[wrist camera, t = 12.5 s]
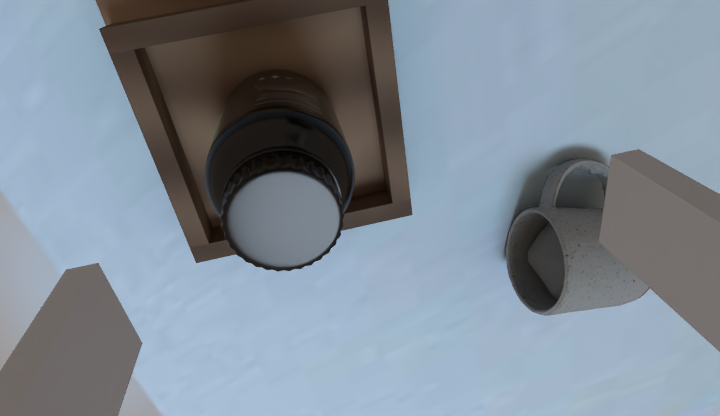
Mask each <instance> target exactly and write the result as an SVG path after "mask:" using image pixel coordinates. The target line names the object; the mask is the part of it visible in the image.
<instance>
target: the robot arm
mask: <svg viewBox="0 0 720 416" xmlns="http://www.w3.org/2000/svg"><path fill="white" fill-rule="evenodd" d="M599 242H600V243H601V244H602V245H603V246H604V247H605V248H606V249H607V250H609V251H610V252H611V253H612V254H613V255H614V256H615V257H616V258H617V259H618V260H620V261H621V262H622V263H623V264H624V265H625V266H626V267H627V268H628V269H629V270H630V271H632V272H633V273H634V274H635V275H636V276H637V277H638V278H639V279H640V280H641V281H643V282H644V283H645V284H646V285H647V286H648V287H649V288H650V289H651V290H652V291H654V292H655V293H656V294H657V295H658V296H659V297H660V298H661V299H662V300H663V301H664V302H666V303H667V304H668V305H669V306H670V307H671V308H672V309H673V310H674V311H675V312H677V313H678V314H679V315H680V316H681V317H682V318H683V319H684V320H685V321H686V322H687V323H689V324H690V325H691V326H692V327H693V328H694V329H695V330H696V331H697V332H698V333H700V334H701V335H702V336H703V337H704V338H705V339H706V340H707V341H708V342H709V343H711V344H712V345H713V346H714V347H715V348H716V349H717V350H718V351H719V352H720V194H718V193H717V192H715V191H713V190H711V189H709V188H708V187H706V186H704V185H702V184H700V183H699V182H697V181H695V180H693V179H691V178H690V177H688V176H686V175H684V174H682V173H681V172H679V171H677V170H675V169H673V168H672V167H670V166H668V165H666V164H664V163H663V162H661V161H659V160H657V159H656V158H654V157H652V156H650V155H648V154H647V153H645V152H643V151H641V150H639V149H638V150H633V151H628V152H624V153H619V154H614V155H611V160H610V167H609V174H608V181H607V188H606V195H605V202H604V209H603V216H602V223H601V230H600V237H599ZM141 346H142V342H141V340H140V338H139V336H138V334H137V332H136V331H135V329H134V327H133V325H132V323H131V322H130V320H129V318H128V316H127V314H126V313H125V311H124V309H123V307H122V305H121V303H120V302H119V300H118V298H117V296H116V294H115V293H114V291H113V289H112V287H111V285H110V283H109V282H108V280H107V278H106V276H105V274H104V273H103V271H102V269H101V267H100V265H99V263H96V264H91V265H86V266H82V267H77V268H72V269H67V270H66V271H65V272H64V274H63V275H62V277H61V278H60V280H59V281H58V283H57V285H56V286H55V287H54V289H53V291H52V292H51V294H50V295H49V297H48V298H47V300H46V301H45V303H44V305H43V306H42V307H41V309H40V311H39V312H38V314H37V315H36V317H35V318H34V320H33V321H32V323H31V324H30V326H29V328H28V329H27V331H26V332H25V334H24V335H23V337H22V338H21V340H20V341H19V343H18V344H17V346H16V348H15V349H14V351H13V352H12V354H11V356H10V357H9V358H8V360H7V361H6V363H5V365H4V366H3V368H2V369H1V371H0V416H118V414H119V411H120V408H121V405H122V402H123V399H124V396H125V393H126V390H127V387H128V384H129V381H130V378H131V375H132V372H133V369H134V366H135V363H136V360H137V357H138V354H139V351H140V348H141Z"/></svg>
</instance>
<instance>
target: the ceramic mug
mask: <svg viewBox="0 0 720 416" xmlns="http://www.w3.org/2000/svg"><path fill="white" fill-rule="evenodd" d="M573 169H580V170H584V171H587V172H589V173H590V174H597V175H598V177H599V178H600V180H601V182H602V186H603V190H604V202H605V195H606V188H607V181H608V174H609V167H608V166H607V165H605V164H603V163H601V162H599V161H595V160H590V159H575V160H568V161H566V162H563V163H561V164H559V165H558V166H557V167H556V168H555V169H554V170H553V171H552V172H551V173H550V174H549V176H548V177H547V179H546V181H545V184H544V187H543V190H542V194H541V198H540V204H539V207H533V208H528V209H526V210H524V211H522V212H521V213H520V214H519V215H518V216H517V217H516V218H515V220H514V222H513V223H512V226H511V228H510V231H509V234H508V238H507V245H506V260H507V269H508V274H509V278H510V280H511V283H512V286H513V288H514V290H515V292H516V294H517V296H518V297H519V299H520V300H521V302H522V303H523V304H524V305H525V306H526V307H527V308H528V309H530V310H531V311H532V312H534V313H537V314H540V315H547V316H548V315H555V314H561V313H567V312H575V311H583V310H590V309H596V308H605V307H613V306H619V305H623V304H626V303H628V302H631V301H634V300H636V299H638V298H640V297H641V296H643V295H644V294H645V293H646V292H647V291H648V289H649V287H648V286H647V285H646V284H645V283H644V282H643V281H641V280H640V279H639V278H638V277H637V276H636V275H635V274H634V273H633V272H632V271H630V270H629V269H628V268H627V267H626V266H625V265H624V264H623V263H622V262H621V261H620V260H618V259H617V258H616V257H615V256H614V255H613V254H612V253H611V252H610V251H609V250H607V249H606V248H605V247H604V246H603V245H602V244H601V243H600V242H599V237H600V230H601V223H602V216H603V209H604V208H603V209H600V208H586V209H582V208H567V207H563V208H560V207H556V205H555V202H556V198H557V196H558V192H559V189H560V187H561V184H562V182H563V180H564V179H565V177H566V176H567V175H568V174H569V173H570V172H571V171H572V170H573Z"/></svg>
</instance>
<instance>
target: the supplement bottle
mask: <svg viewBox="0 0 720 416" xmlns="http://www.w3.org/2000/svg"><path fill="white" fill-rule="evenodd" d="M205 185H206V191H207V194H208V197H209V200H210V203H211V205H212V207H213V208H214V210H215V212H216V213H217V215H218V216H219V217H220V218H221V220H222V223H221V228H222V230H223V231H224V237H225V239H226V240H227V241H228V242H229V245H230V248H232V249H233V250H235V252H236V254H237V255H238V256H240V257H242V258H243V259H244V260H245V261H246V262H248V263H252V264H253V265H254V266H256V267H263V268H264V269H266V270H271V269H273V270H276V271H282V270H286V271H291V270H293V269H301V268H303V267H304V266H308V265H312V264H313V263H314V262H315V261H318V260H321V258H322V257H323V256H324V255H326V254H327V253H329V251H330V249H331V248H332V247H333V246H335V245H336V240H337V239H338V238H339V237H340V235H341V229H342V227H343V225H344V224H343V218H344V212H345V210H346V209H347V207H348V205H349V203H350V200H351V198H352V195H353V191H354V185H355V169H354V163H353V159H352V155H351V152H350V150H349V147H348V144H347V142H346V139H345V137H344V134H343V132H342V129H341V127H340V124H339V122H338V119H337V117H336V114H335V112H334V109H333V107H332V105H331V103H330V101H329V99H328V97H327V96H326V94H325V93H324V92H323V91H322V89H321V88H320V87H319V86H318V85H317V84H315V83H314V82H313V81H312V80H310V79H309V78H307V77H305V76H303V75H301V74H298V73H296V72H292V71H288V70H280V69H277V70H266V71H261V72H258V73H255V74H253V75H251V76H249V77H247V78H246V79H244V80H243V81H241V82H240V83H239V84H238V85H237V86H236V87H235V88H234V89H233V91H232V92H231V93H230V95H229V96H228V98H227V100H226V102H225V104H224V107H223V109H222V112H221V115H220V119H219V122H218V125H217V128H216V131H215V134H214V137H213V140H212V144H211V147H210V150H209V153H208V156H207V161H206V167H205Z"/></svg>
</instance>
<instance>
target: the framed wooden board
mask: <svg viewBox="0 0 720 416" xmlns="http://www.w3.org/2000/svg"><path fill="white" fill-rule="evenodd" d="M96 2H97V5H98V7H99V10H100V12H101V14H102V17H103V19H104V22H105V24H106V26H105V27H103V28H100V29H99V30H100V32H101V35H102V37H103V39H104V42H105V44H106V47H107V49H108V51H109V54H110V56H111V59H112V61H113V64H114V66H115V68H116V71H117V73H118V76H119V78H120V80H121V83H122V85H123V88H124V90H125V92H126V95H127V97H128V100H129V102H130V104H131V107H132V109H133V112H134V114H135V117H136V119H137V121H138V124H139V126H140V129H141V131H142V133H143V136H144V138H145V141H146V143H147V145H148V148H149V150H150V153H151V155H152V157H153V160H154V162H155V165H156V167H157V170H158V172H159V174H160V177H161V179H162V182H163V184H164V186H165V189H166V191H167V194H168V196H169V198H170V201H171V203H172V206H173V208H174V210H175V213H176V215H177V218H178V220H179V223H180V225H181V227H182V230H183V232H184V235H185V237H186V239H187V242H188V244H189V247H190V249H191V251H192V254H193V256H194V259H195V261H196V263H199V262H203V261H208V260H212V259H216V258H221V257H225V256H230V255H234V254H236V252H235V250H233V249H232V248H230V245H229V242H228V241H227V240H226V239H225V237H224V231H223V230H222V228H221V223H222V220H221V218H220V217H219V216H218V215H217V213H216V212H215V210H214V208H213V207H212V205H211V203H210V200H209V197H208V194H207V191H206V185H205V167H206V161H207V156H208V153H209V150H210V147H211V144H212V140H213V137H214V134H215V131H216V128H217V125H218V122H219V119H220V115H221V112H222V109H223V107H224V104H225V102H226V100H227V98H228V96H229V95H230V93H231V92H232V91H233V89H234V88H235V87H236V86H237V85H238V84H239V83H240V82H241V81H243V80H244V79H246V78H247V77H249V76H251V75H253V74H255V73H258V72H261V71H266V70H277V69H280V70H288V71H292V72H296V73H298V74H301V75H303V76H305V77H307V78H309V79H310V80H312V81H313V82H314V83H315V84H317V85H318V86H319V87H320V88H321V89H322V91H323V92H324V93H325V94H326V96H327V97H328V99H329V101H330V103H331V105H332V107H333V109H334V112H335V114H336V117H337V119H338V122H339V124H340V127H341V129H342V132H343V134H344V137H345V139H346V142H347V144H348V147H349V150H350V152H351V155H352V159H353V163H354V169H355V185H354V191H353V195H352V198H351V200H350V203H349V205H348V207H347V209H346V210H345V212H344V218H343V224H344V225H343V227H342V229H341V231H342V230H346V229H351V228H355V227H360V226H364V225H369V224H373V223H378V222H382V221H387V220H391V219H396V218H400V217H405V216H409V215H412V207H411V199H410V190H409V181H408V172H407V164H406V155H405V146H404V137H403V129H402V120H401V111H400V102H399V94H398V85H397V76H396V67H395V59H394V50H393V41H392V32H391V23H390V15H389V6H388V0H96Z"/></svg>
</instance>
